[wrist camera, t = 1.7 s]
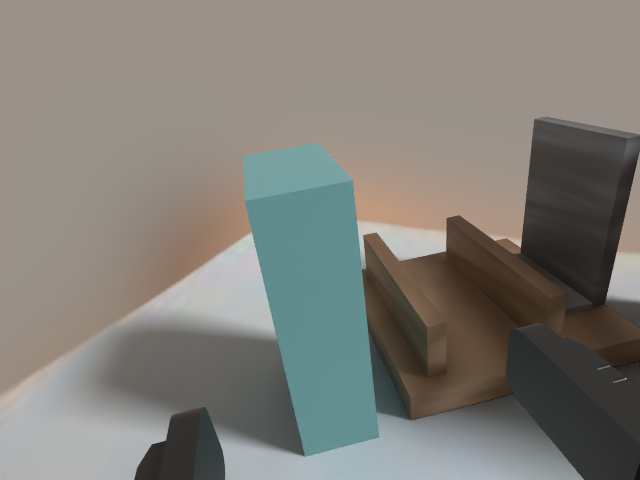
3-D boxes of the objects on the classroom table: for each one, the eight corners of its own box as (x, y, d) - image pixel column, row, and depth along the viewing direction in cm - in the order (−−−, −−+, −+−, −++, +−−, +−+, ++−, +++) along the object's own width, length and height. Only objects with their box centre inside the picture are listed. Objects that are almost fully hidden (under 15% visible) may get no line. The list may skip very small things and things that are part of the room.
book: (304, 456, 23) (245, 201, 16) (289, 360, 30) (243, 155, 23) (378, 436, 23) (352, 180, 16) (345, 346, 31) (318, 142, 23)
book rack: (411, 420, 24) (401, 209, 18) (350, 290, 37) (332, 144, 31) (643, 359, 26) (707, 147, 19) (505, 256, 39) (517, 111, 33)
